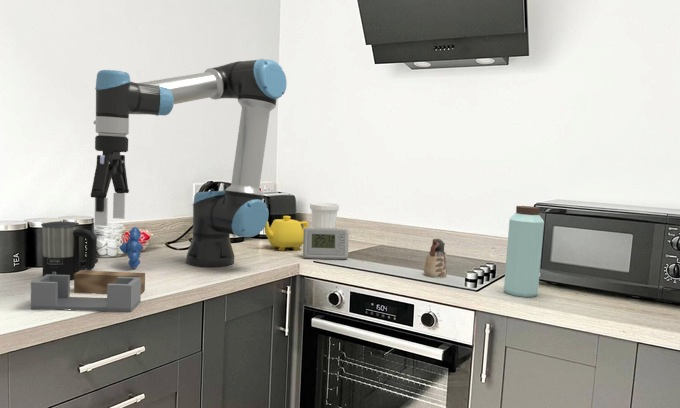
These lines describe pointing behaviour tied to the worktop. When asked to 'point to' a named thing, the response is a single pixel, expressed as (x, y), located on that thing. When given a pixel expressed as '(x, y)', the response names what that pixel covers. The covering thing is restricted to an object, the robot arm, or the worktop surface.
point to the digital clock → (325, 243)
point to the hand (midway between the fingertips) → (110, 221)
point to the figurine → (436, 260)
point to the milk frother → (66, 248)
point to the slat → (101, 280)
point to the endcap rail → (57, 296)
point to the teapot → (285, 233)
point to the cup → (324, 215)
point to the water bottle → (524, 252)
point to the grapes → (133, 247)
